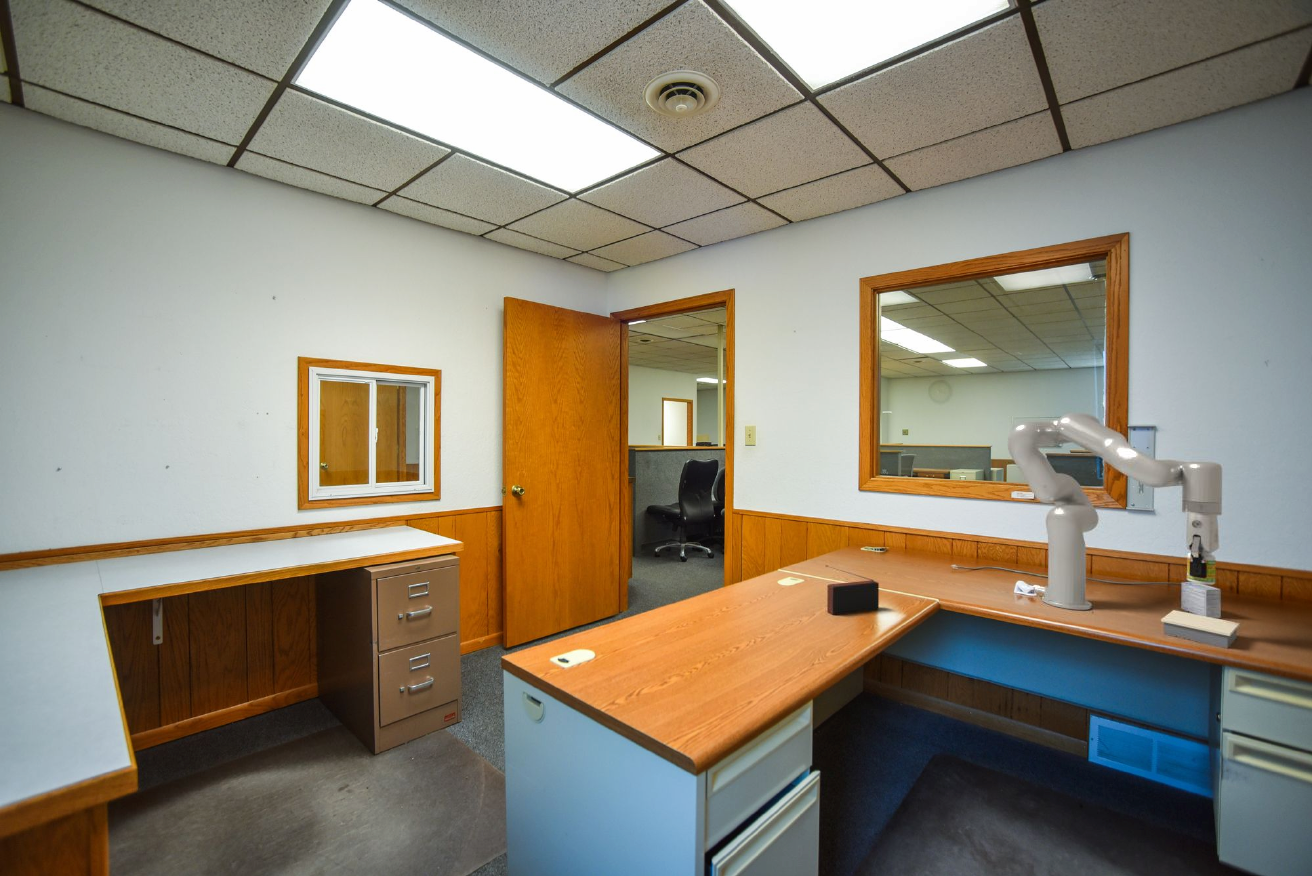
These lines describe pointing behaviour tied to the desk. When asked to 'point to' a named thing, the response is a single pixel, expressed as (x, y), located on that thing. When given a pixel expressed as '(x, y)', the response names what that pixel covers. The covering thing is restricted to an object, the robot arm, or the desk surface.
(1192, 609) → the medicine box
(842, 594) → the radio
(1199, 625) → the base block
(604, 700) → the desk surface
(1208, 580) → the supplement bottle
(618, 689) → the desk surface
